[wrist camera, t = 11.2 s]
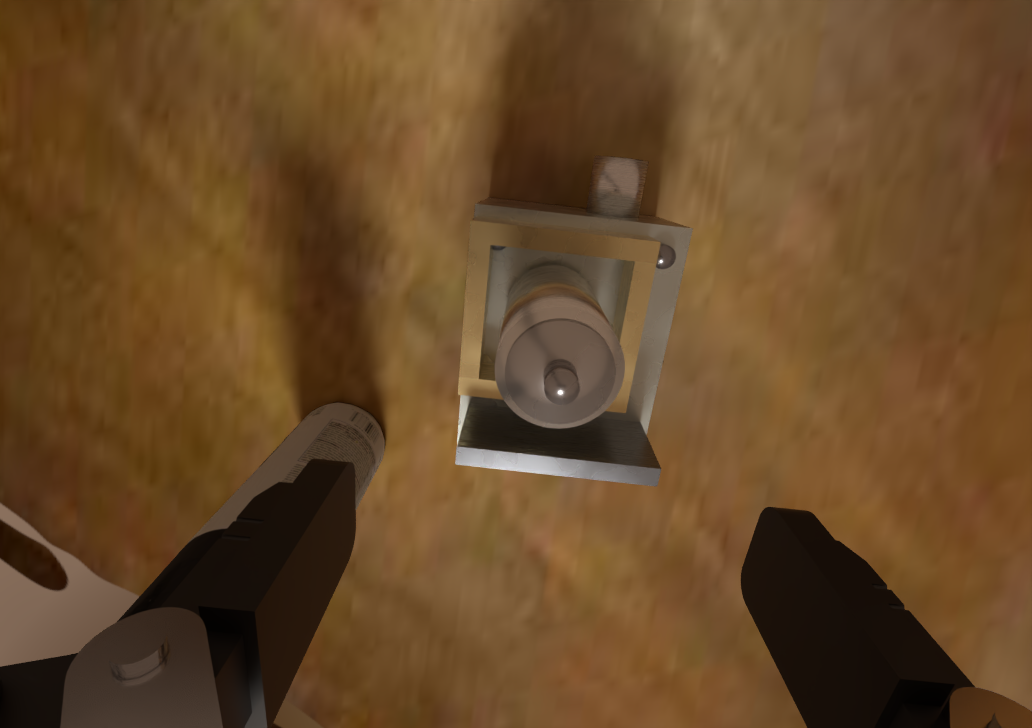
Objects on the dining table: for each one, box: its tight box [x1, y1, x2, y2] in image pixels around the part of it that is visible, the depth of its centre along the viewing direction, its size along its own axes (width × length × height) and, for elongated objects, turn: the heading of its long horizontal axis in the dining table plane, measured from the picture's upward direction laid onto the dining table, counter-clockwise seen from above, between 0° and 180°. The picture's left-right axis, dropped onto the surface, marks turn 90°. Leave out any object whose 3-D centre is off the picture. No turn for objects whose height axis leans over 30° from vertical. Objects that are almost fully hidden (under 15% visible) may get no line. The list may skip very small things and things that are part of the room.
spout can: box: [495, 265, 625, 429], centre depth 22 cm, size 5×5×11 cm
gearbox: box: [455, 156, 693, 486], centre depth 29 cm, size 17×11×13 cm, turn 174°
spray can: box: [117, 402, 385, 622], centre depth 30 cm, size 7×7×20 cm
